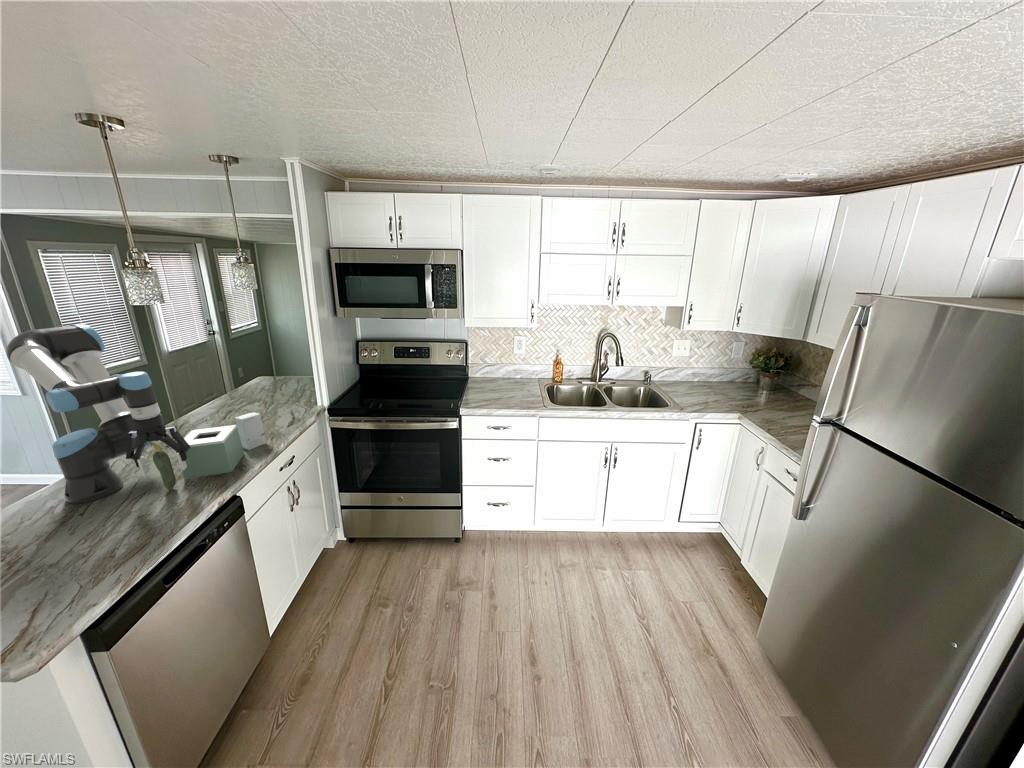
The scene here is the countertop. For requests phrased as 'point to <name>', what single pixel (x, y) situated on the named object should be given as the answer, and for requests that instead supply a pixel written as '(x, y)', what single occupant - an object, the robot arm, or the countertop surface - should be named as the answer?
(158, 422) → the robot arm
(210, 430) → the box
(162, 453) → the vegetable
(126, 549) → the countertop surface
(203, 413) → the countertop surface
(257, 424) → the skincare box
